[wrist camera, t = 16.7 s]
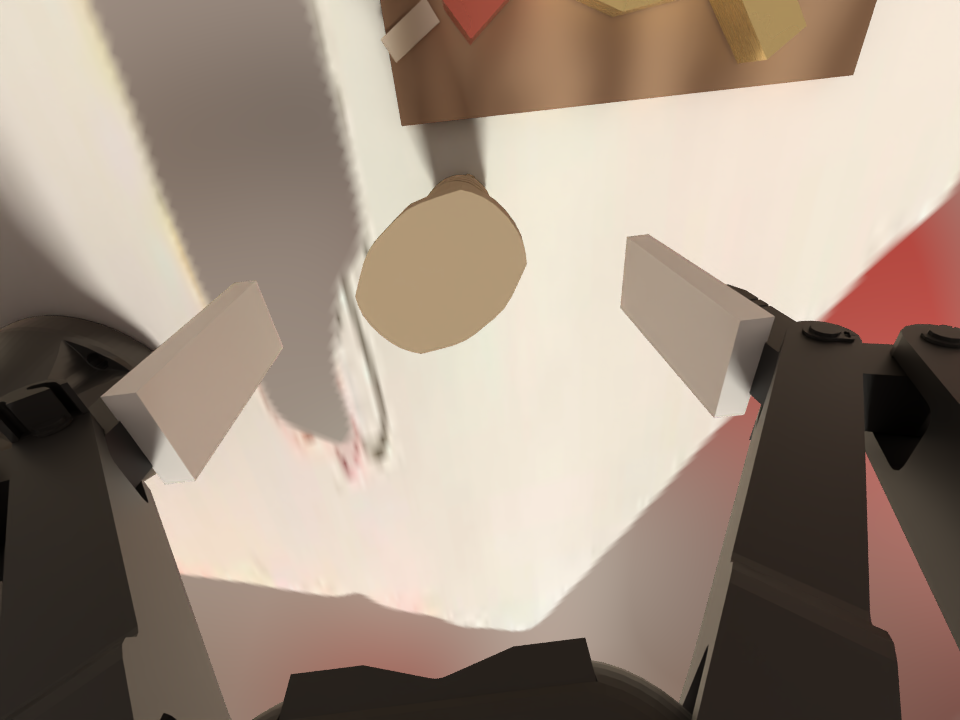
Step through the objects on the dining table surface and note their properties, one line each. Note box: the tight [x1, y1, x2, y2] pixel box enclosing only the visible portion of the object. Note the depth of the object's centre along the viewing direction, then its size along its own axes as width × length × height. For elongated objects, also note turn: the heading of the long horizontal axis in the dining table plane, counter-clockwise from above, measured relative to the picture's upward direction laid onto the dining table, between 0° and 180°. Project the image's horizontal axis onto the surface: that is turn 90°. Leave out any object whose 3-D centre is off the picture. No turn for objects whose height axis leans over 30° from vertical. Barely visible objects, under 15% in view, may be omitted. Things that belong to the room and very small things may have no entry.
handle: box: [355, 174, 527, 354], centre depth 21 cm, size 5×6×15 cm
